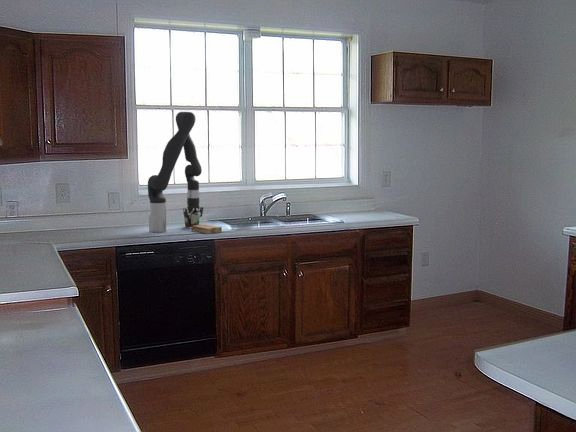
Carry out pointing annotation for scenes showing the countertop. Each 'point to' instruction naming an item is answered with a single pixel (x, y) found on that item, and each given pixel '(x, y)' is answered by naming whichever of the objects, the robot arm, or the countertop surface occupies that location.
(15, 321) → the countertop surface
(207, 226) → the flat wooden block
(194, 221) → the food container
